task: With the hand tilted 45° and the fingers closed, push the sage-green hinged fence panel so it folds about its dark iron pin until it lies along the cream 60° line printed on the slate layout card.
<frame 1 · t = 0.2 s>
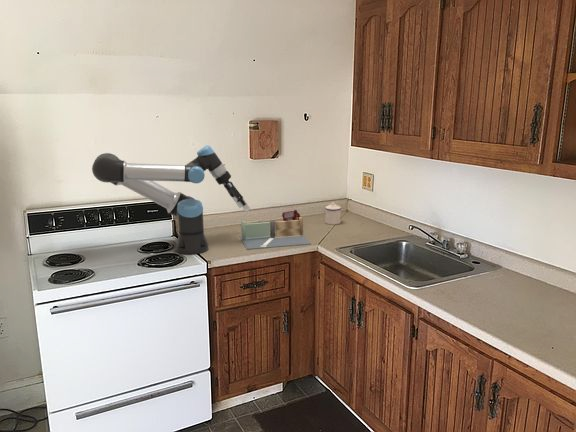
hand: (244, 208, 255), 15 cm above the worktop, tool tilted 30°, fingers open, 13 cm apart
fixed fence panel: (272, 238, 257), resting on layout card
layout card: (274, 240, 254), on the worktop
toy fire truck: (292, 229, 274), on the worktop
hinged fence panel: (255, 229, 254), point 5 cm above the worktop, hinge at 0.0°
teacup with lid: (331, 222, 287), on the worktop
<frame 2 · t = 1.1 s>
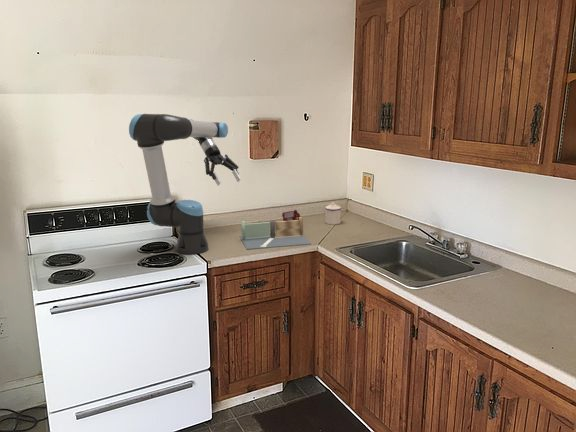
hand: (229, 182, 258), 28 cm above the worktop, tool tilted 45°, fingers open, 12 cm apart
nothing on the worktop moved.
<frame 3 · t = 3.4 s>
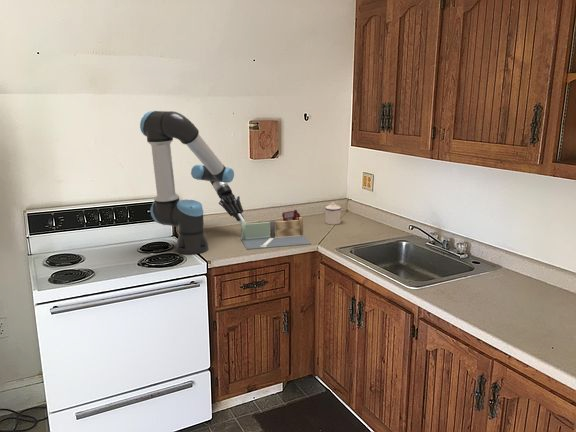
hand: (243, 225, 260), 6 cm above the worktop, tool tilted 45°, fingers closed
nothing on the worktop moved.
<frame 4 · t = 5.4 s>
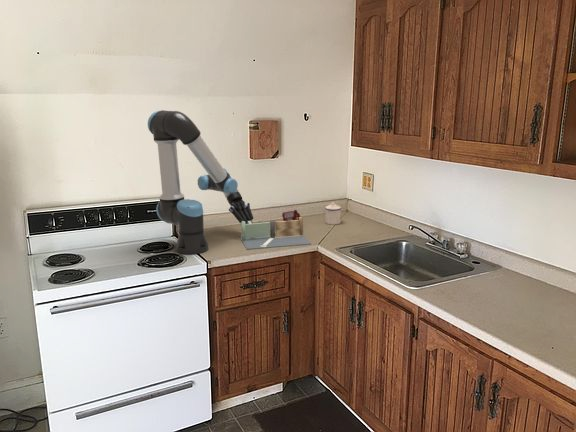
hand: (253, 232, 256), 3 cm above the worktop, tool tilted 45°, fingers closed
hinged fence panel: (255, 229, 254), point 6 cm above the worktop, hinge at 1.9°, touching gripper
everything else where it was.
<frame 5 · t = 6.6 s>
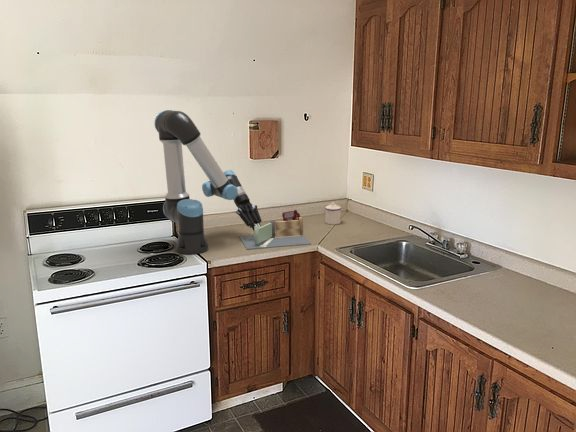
hand: (261, 236, 252), 3 cm above the worktop, tool tilted 40°, fingers closed
hinged fence panel: (263, 232, 249), point 6 cm above the worktop, hinge at 46.7°, touching gripper
everything else where it was.
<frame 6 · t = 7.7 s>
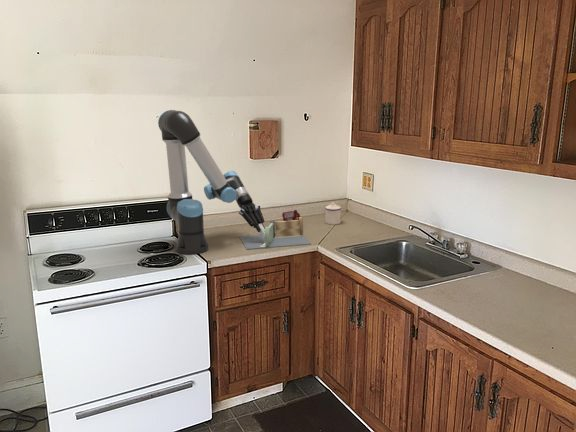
hand: (265, 236, 248), 4 cm above the worktop, tool tilted 45°, fingers closed
hinged fence panel: (269, 232, 248), point 5 cm above the worktop, hinge at 67.6°, touching gripper
everything else where it was.
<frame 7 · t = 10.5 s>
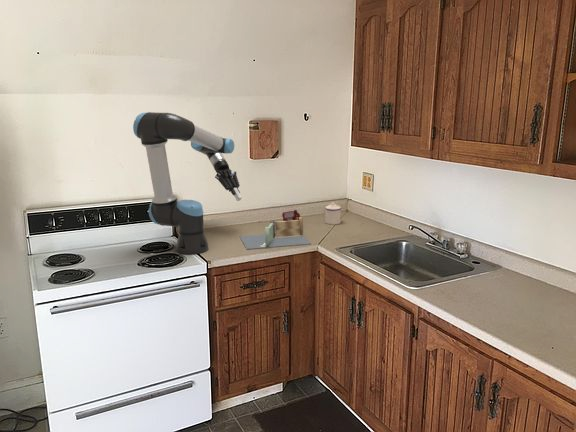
hand: (239, 199, 260), 19 cm above the worktop, tool tilted 45°, fingers closed
hinged fence panel: (269, 232, 248), point 6 cm above the worktop, hinge at 67.6°
everything else where it was.
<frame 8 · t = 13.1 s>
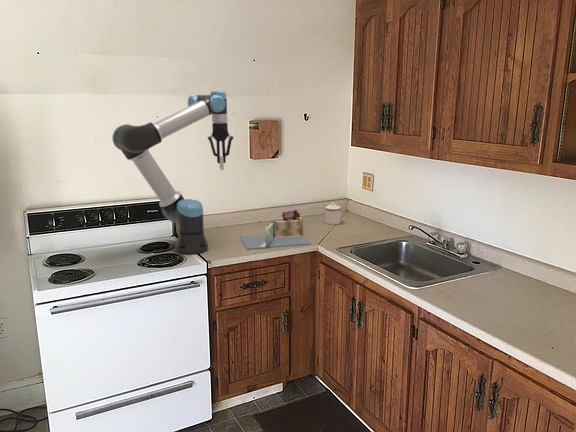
hand: (221, 169, 257), 34 cm above the worktop, tool pointing down, fingers closed
nothing on the worktop moved.
at the end: hinged fence panel at +68° (first picture: +0°); toy fire truck moved 0.3 cm from its start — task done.
